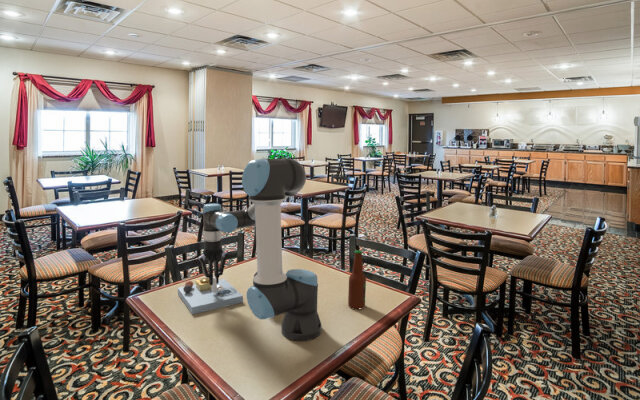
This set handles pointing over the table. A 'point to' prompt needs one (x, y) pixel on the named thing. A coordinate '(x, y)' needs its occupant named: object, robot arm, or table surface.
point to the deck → (210, 298)
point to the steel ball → (219, 289)
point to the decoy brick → (189, 283)
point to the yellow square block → (203, 284)
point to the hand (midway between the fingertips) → (214, 291)
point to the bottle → (357, 283)
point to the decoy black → (187, 289)
